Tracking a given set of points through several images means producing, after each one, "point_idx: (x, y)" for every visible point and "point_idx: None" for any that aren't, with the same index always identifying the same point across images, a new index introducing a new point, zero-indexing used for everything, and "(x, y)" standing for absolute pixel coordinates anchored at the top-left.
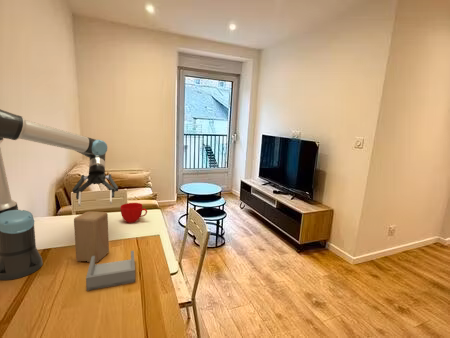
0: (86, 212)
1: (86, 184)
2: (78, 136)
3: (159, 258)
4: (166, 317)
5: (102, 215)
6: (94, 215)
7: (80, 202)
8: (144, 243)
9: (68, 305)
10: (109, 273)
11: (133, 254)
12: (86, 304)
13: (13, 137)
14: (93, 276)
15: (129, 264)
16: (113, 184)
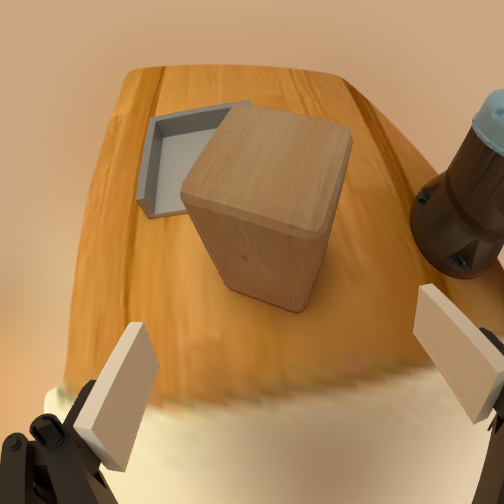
0: (316, 193)
1: (501, 502)
2: None
3: (88, 224)
4: (135, 82)
5: (204, 148)
6: (247, 138)
7: (427, 325)
8: (106, 337)
9: (275, 98)
10: (202, 109)
11: (140, 177)
12: (244, 97)
13: None
14: (235, 102)
15: (160, 189)
16: (20, 500)
